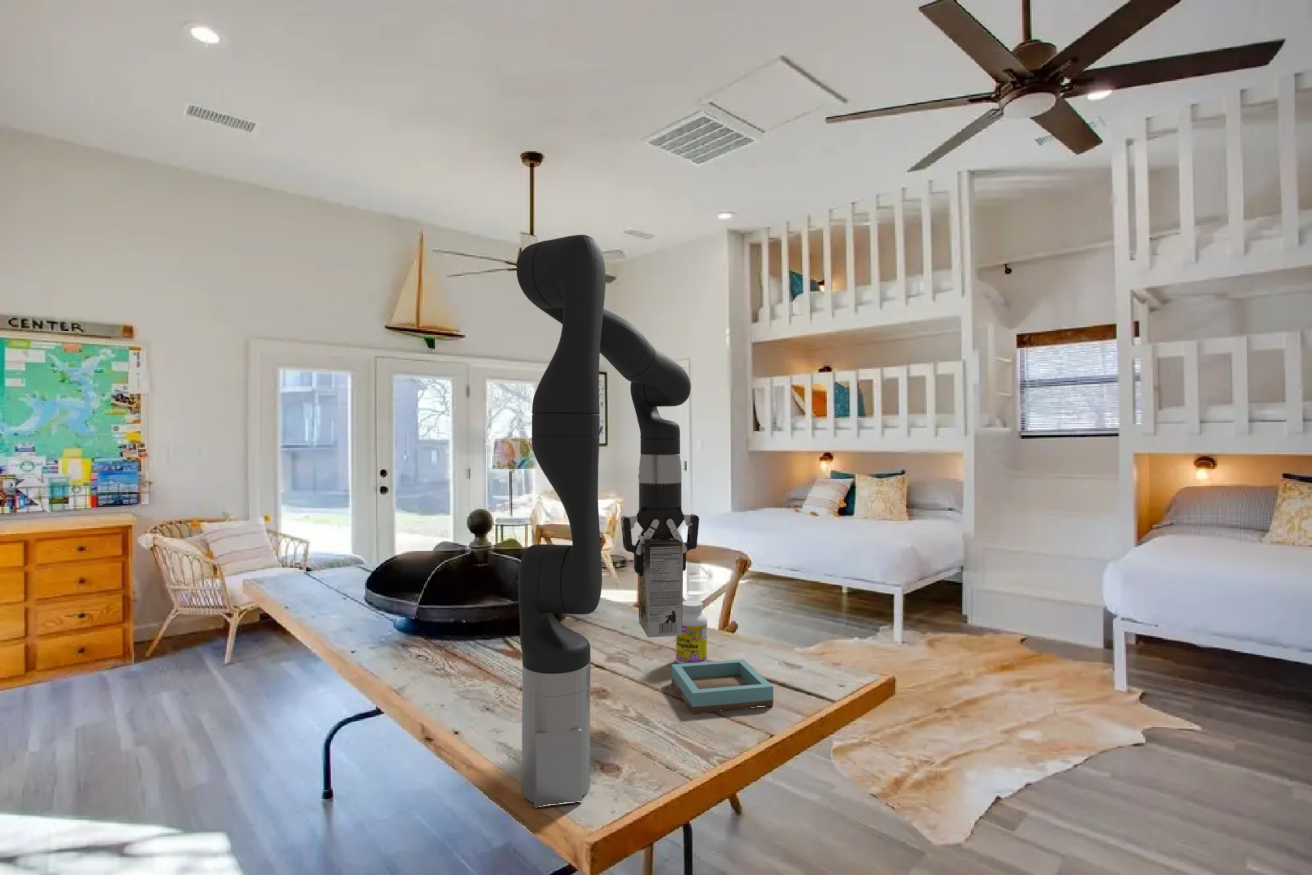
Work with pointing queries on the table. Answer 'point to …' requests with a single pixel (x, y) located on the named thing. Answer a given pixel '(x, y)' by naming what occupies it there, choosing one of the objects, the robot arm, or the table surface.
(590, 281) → the robot arm
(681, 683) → the teal square tray
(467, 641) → the table surface
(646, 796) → the table surface
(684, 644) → the supplement bottle
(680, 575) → the coffee box
